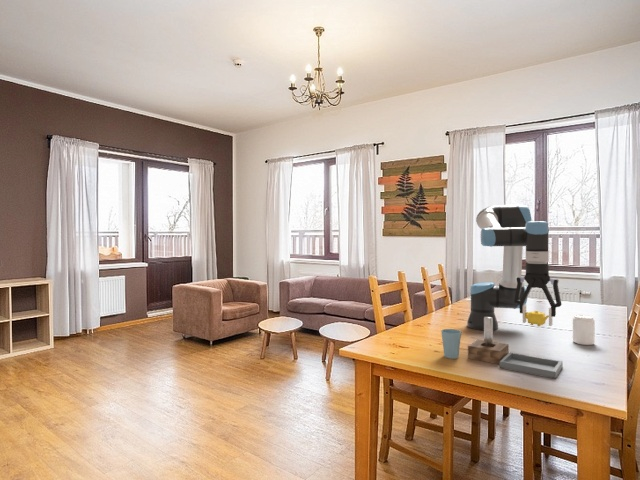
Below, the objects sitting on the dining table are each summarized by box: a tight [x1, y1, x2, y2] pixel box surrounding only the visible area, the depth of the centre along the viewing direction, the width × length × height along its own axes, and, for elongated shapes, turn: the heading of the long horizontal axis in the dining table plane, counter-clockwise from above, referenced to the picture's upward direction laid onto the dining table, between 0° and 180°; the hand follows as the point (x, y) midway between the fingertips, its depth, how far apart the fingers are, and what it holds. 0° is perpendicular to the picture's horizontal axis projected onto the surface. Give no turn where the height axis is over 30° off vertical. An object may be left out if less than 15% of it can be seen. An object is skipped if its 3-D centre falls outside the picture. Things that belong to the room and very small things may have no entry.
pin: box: [483, 317, 494, 347], centre depth 157 cm, size 3×3×14 cm
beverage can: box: [572, 314, 596, 346], centre depth 175 cm, size 8×8×12 cm
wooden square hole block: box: [467, 338, 510, 365], centre depth 157 cm, size 12×12×5 cm
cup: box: [440, 328, 462, 360], centre depth 159 cm, size 8×8×10 cm
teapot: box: [525, 310, 549, 327], centre depth 146 cm, size 8×6×5 cm
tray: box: [499, 351, 564, 380], centre depth 145 cm, size 18×14×2 cm
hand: (537, 323), depth 147 cm, fingers closed on teapot, 8 cm apart
